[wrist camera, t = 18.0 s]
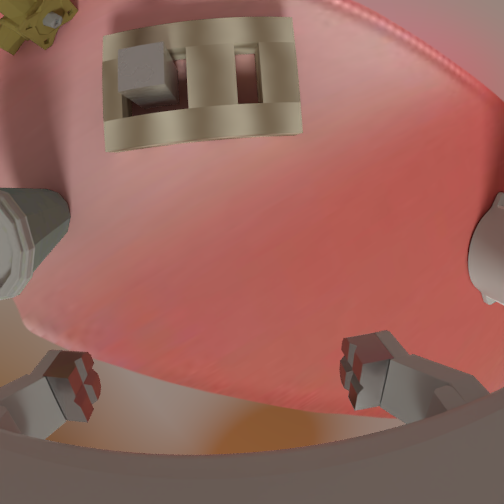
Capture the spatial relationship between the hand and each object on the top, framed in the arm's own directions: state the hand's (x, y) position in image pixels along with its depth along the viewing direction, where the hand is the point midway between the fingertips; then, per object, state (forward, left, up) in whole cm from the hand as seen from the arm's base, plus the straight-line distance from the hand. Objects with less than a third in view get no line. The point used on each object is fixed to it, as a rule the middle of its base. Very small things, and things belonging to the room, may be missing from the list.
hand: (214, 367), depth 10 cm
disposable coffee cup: (+21, -2, -28) cm, 35 cm away
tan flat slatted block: (+1, -15, -28) cm, 32 cm away
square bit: (+5, -15, -28) cm, 32 cm away
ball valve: (+21, -29, -28) cm, 46 cm away
